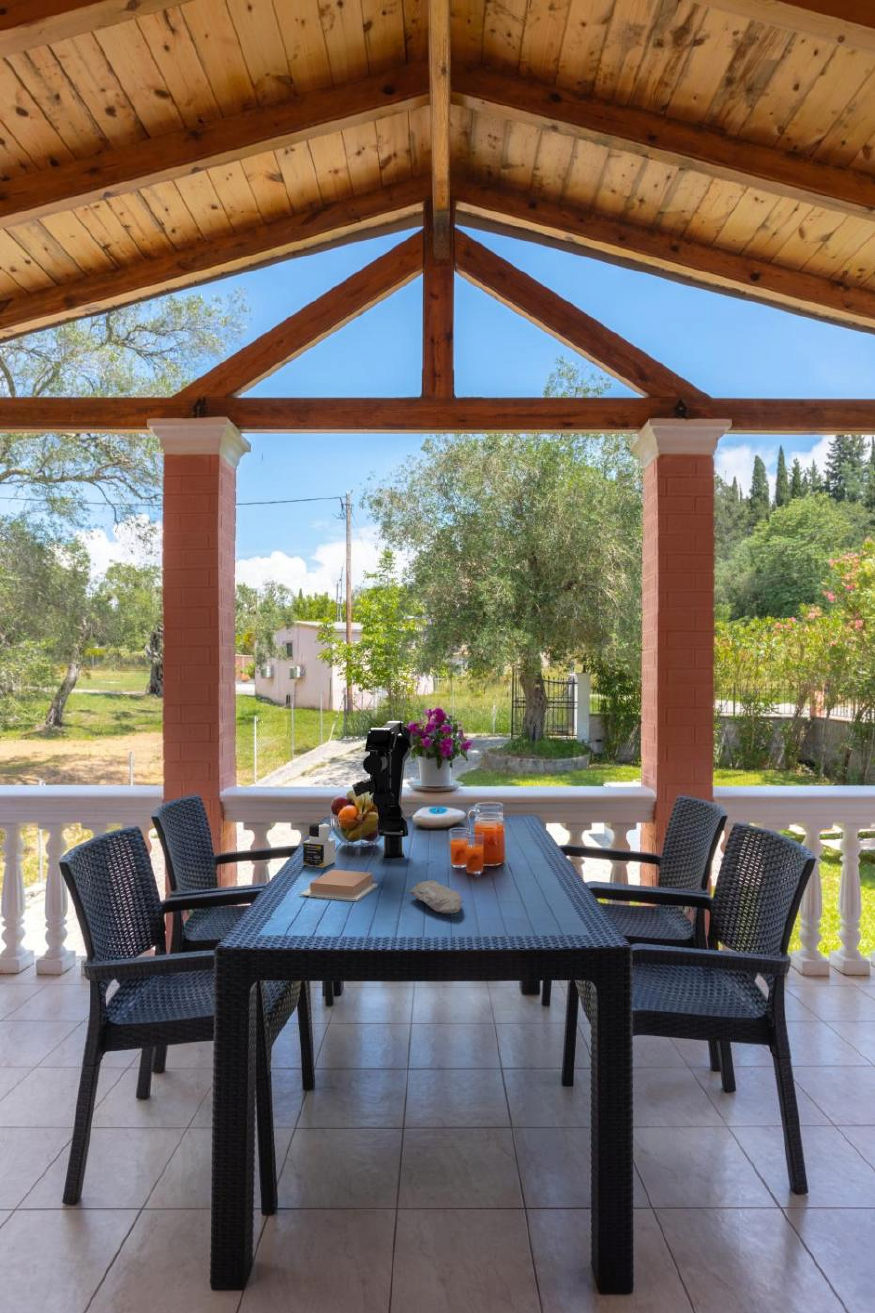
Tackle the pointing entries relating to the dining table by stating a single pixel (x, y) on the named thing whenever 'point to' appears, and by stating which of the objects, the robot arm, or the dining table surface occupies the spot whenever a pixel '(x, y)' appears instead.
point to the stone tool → (438, 897)
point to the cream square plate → (341, 897)
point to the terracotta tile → (341, 882)
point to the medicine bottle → (319, 846)
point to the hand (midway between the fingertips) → (381, 823)
